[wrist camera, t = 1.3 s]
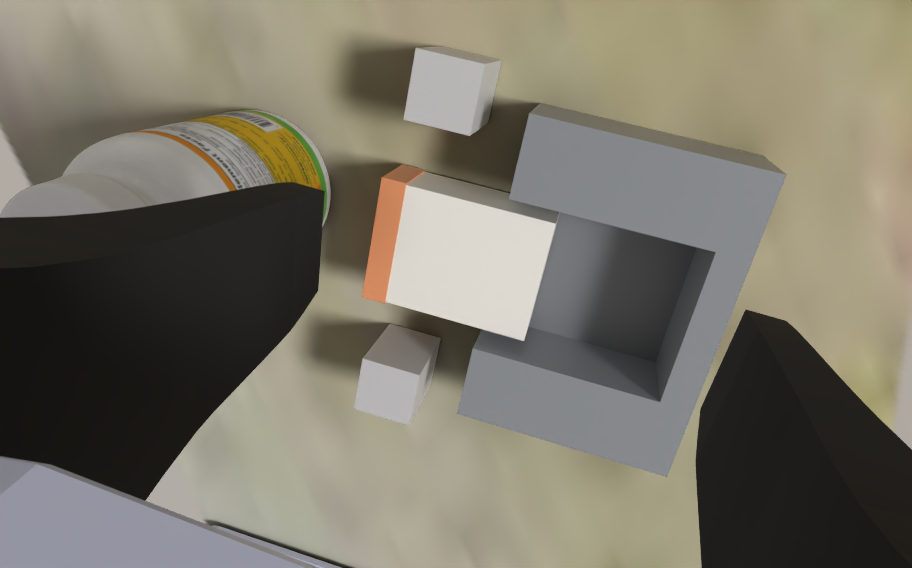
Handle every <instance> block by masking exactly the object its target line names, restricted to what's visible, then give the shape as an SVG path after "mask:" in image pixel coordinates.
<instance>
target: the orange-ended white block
mask: <svg viewBox="0 0 912 568" xmlns="http://www.w3.org/2000/svg"><path fill="white" fill-rule="evenodd" d="M509 195H510V193H506V192H502V191H498V190H494V189H490V188H487V187H483V186H479V185H475V184H471V183H467V182H463V181H459V180H455V179H451V178H447V177H444V176H440V175H436V174H432V173H428V172H425V170H423V169H419V168H415V167H411V166H407V165H403V164H402V165H401V166H399V167H398V168H396V169H394V170H393V171H391V172H389V173H388V174H386V175H384V176H383V177H382V179H381V185H380V191H379V197H378V203H377V209H376V215H375V221H374V227H373V233H372V239H371V245H370V252H369V258H368V264H367V270H366V276H365V282H364V288H363V294H362V297H364V298H368V299H371V300H375V301H378V302H382V303H386V302H388V303H391V304H395V305H398V306H402V307H405V308H409V309H412V310H416V311H419V312H423V313H427V314H430V315H434V316H437V317H441V318H444V319H448V320H451V321H455V322H458V323H462V324H465V325H469V326H472V327H476V328H479V329H483V330H486V331H490V332H494V333H497V334H501V335H504V336H508V337H511V338H515V339H518V340H522V341H524V340H525V336H526V333H527V330H528V326H529V323H530V320H531V316H532V313H533V309H534V305H535V302H536V298H537V294H538V291H539V287H540V283H541V280H542V276H543V272H544V269H545V265H546V261H547V258H548V254H549V250H550V247H551V243H552V239H553V236H554V232H555V228H556V225H557V221H558V217H559V213H560V212H557V211H553V210H549V209H545V208H542V207H538V206H534V205H530V204H526V203H522V202H518V201H514V200H510V199H509Z"/></svg>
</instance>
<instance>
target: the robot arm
mask: <svg viewBox="0 0 912 568" xmlns="http://www.w3.org/2000/svg"><path fill="white" fill-rule="evenodd" d="M324 195H325V191H323V190H320V189H316V188H312V187H309V186H305V185H302V184H298V183H295V182H283V183H274V184H267V185H261V186H255V187H249V188H244V189H239V190H234V191H229V192H224V193H219V194H214V195H208V196H203V197H198V198H193V199H188V200H182V201H176V202H170V203H164V204H158V205H152V206H146V207H140V208H134V209H126V210H119V211H110V212H101V213H90V214H78V215H66V216H49V217H5V218H0V568H341V567H338V566H335V565H332V564H329V563H327V562H324V561H321V560H318V559H315V558H312V557H309V556H306V555H303V554H300V553H297V552H294V551H291V550H288V549H285V548H282V547H279V546H276V545H273V544H270V543H268V542H265V541H262V540H259V539H256V538H253V537H250V536H247V535H244V534H241V533H238V532H235V531H232V530H229V529H226V528H223V527H220V526H216V525H212V526H209V525H207V524H204V523H201V522H199V521H196V520H193V519H191V518H188V517H186V516H183V515H181V514H177V513H175V512H173V511H170V510H168V509H165V508H162V507H160V506H157V505H154V504H152V503H149V502H147V501H145V500H146V499H147V498H148V496H149V495H150V493H151V492H152V491H153V489H154V488H155V486H156V485H157V483H158V482H159V481H160V479H161V478H162V476H163V475H164V474H165V472H166V471H167V470H168V468H169V467H170V466H171V464H172V463H173V462H174V461H175V459H176V458H177V457H178V455H179V454H180V453H181V451H182V450H183V449H184V447H185V446H186V445H187V443H188V442H189V441H190V439H191V438H192V437H193V435H194V434H195V433H196V432H197V430H198V429H199V428H200V427H201V426H202V425H203V423H204V422H205V421H206V420H207V419H208V418H209V417H210V415H211V414H212V413H213V412H214V411H215V410H216V409H217V408H218V407H219V406H220V405H221V404H222V403H223V402H224V400H225V399H226V398H227V397H228V396H229V395H230V394H231V393H232V392H233V391H234V390H235V389H236V388H237V387H238V386H239V385H240V384H241V383H242V382H243V381H244V380H245V379H246V377H247V376H248V375H249V374H250V373H251V372H252V371H253V370H254V369H255V368H256V367H257V366H258V365H259V364H260V363H261V362H262V361H263V360H264V359H265V358H266V357H267V355H268V354H269V353H270V352H271V351H272V350H273V349H274V348H275V347H276V346H277V345H278V344H279V343H280V342H281V341H282V339H283V338H284V337H285V336H286V335H287V334H288V333H289V332H290V331H291V329H292V328H293V327H294V325H295V324H296V322H297V321H298V320H299V318H300V317H301V315H302V314H303V313H304V311H305V310H306V308H307V306H308V305H309V303H310V302H311V300H312V299H313V297H314V296H315V294H316V293H317V291H318V284H319V269H320V254H321V239H322V224H323V210H324ZM696 478H697V497H698V514H699V529H700V545H701V561H702V568H912V450H911V449H910V448H909V447H908V446H907V445H906V444H905V443H904V442H903V441H902V440H901V439H900V438H899V437H898V436H897V435H896V434H895V433H894V432H893V431H892V430H891V429H889V428H888V427H887V426H886V425H885V424H884V423H883V422H882V421H881V420H880V419H879V418H878V417H877V416H876V415H875V414H874V413H873V412H872V411H871V410H870V409H869V408H868V407H867V406H866V405H865V404H864V403H863V402H862V400H861V399H860V398H859V397H858V396H857V395H856V394H855V393H854V392H853V391H852V390H851V389H850V388H849V387H848V386H847V385H846V383H845V382H844V381H843V380H842V379H841V378H840V377H839V376H838V375H837V374H836V373H835V371H834V370H833V369H832V368H831V367H830V366H829V365H828V364H827V363H826V362H825V360H824V359H823V358H822V357H821V356H820V355H819V354H818V353H817V352H816V350H815V349H814V348H813V347H812V346H811V345H810V344H809V343H808V342H807V341H806V340H805V339H804V338H803V336H802V335H801V334H800V333H799V332H798V331H797V330H796V329H795V328H794V327H793V326H791V325H790V324H789V323H788V322H787V321H784V320H781V319H777V318H774V317H770V316H767V315H763V314H760V313H756V312H753V311H749V310H745V312H744V314H743V316H742V319H741V321H740V323H739V325H738V328H737V330H736V332H735V334H734V336H733V339H732V341H731V343H730V345H729V347H728V350H727V352H726V354H725V356H724V358H723V361H722V363H721V365H720V367H719V369H718V372H717V374H716V376H715V378H714V380H713V383H712V385H711V387H710V389H709V391H708V394H707V396H706V398H705V400H704V403H703V405H702V407H701V410H700V420H699V429H698V439H697V451H696Z"/></svg>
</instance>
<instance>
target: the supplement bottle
mask: <svg viewBox="0 0 912 568" xmlns="http://www.w3.org/2000/svg"><path fill="white" fill-rule="evenodd" d="M283 182H295V183H298V184H302V185H305V186H309V187H312V188H316V189H320V190H323V191H325V195H324V210H323V224H322V227H323V225H324V223H325V221H326V219H327V216H328V212H329V208H330V200H331V188H330V180H329V176H328V172H327V169H326V166H325V163H324V161H323V159H322V157H321V155H320V153H319V151H318V150H317V148H316V146H315V145H314V144H313V142H312V141H311V140H310V139H309V137H308V136H307V135H306V134H305V133H304V132H303V131H302V130H300V129H299V128H298V127H297V126H295V125H294V124H293V123H291V122H289V121H288V120H286V119H284V118H282V117H280V116H278V115H275V114H272V113H269V112H265V111H260V110H240V111H231V112H226V113H221V114H216V115H211V116H207V117H202V118H197V119H192V120H188V121H183V122H178V123H173V124H168V125H164V126H159V127H154V128H149V129H144V130H138V131H134V132H128V133H123V134H120V135H116V136H113V137H110V138H107V139H104V140H102V141H99V142H97V143H95V144H93V145H91V146H89V147H88V148H86V149H85V150H83V151H82V152H81V153H80V154H78V155H77V156H76V157H75V158H74V159H73V160H72V162H71V163H70V164H69V165H68V167H67V168H66V170H65V171H64V173H63V175H62V177H59V178H56V179H54V180H50V181H47V182H43V183H40V184H37V185H33V186H31V187H28V188H26V189H24V190H23V191H21V192H19V193H18V194H17V195H15V196H14V197H13V198H12V199H11V200H10V201H9V202H8V203H7V205H6V206H5V207H4V209H3V211H2V212H1V215H0V218H5V217H49V216H66V215H78V214H90V213H101V212H110V211H119V210H126V209H134V208H140V207H146V206H152V205H158V204H164V203H170V202H176V201H182V200H188V199H193V198H198V197H203V196H208V195H214V194H219V193H224V192H229V191H234V190H239V189H244V188H249V187H255V186H261V185H267V184H274V183H283Z"/></svg>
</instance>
